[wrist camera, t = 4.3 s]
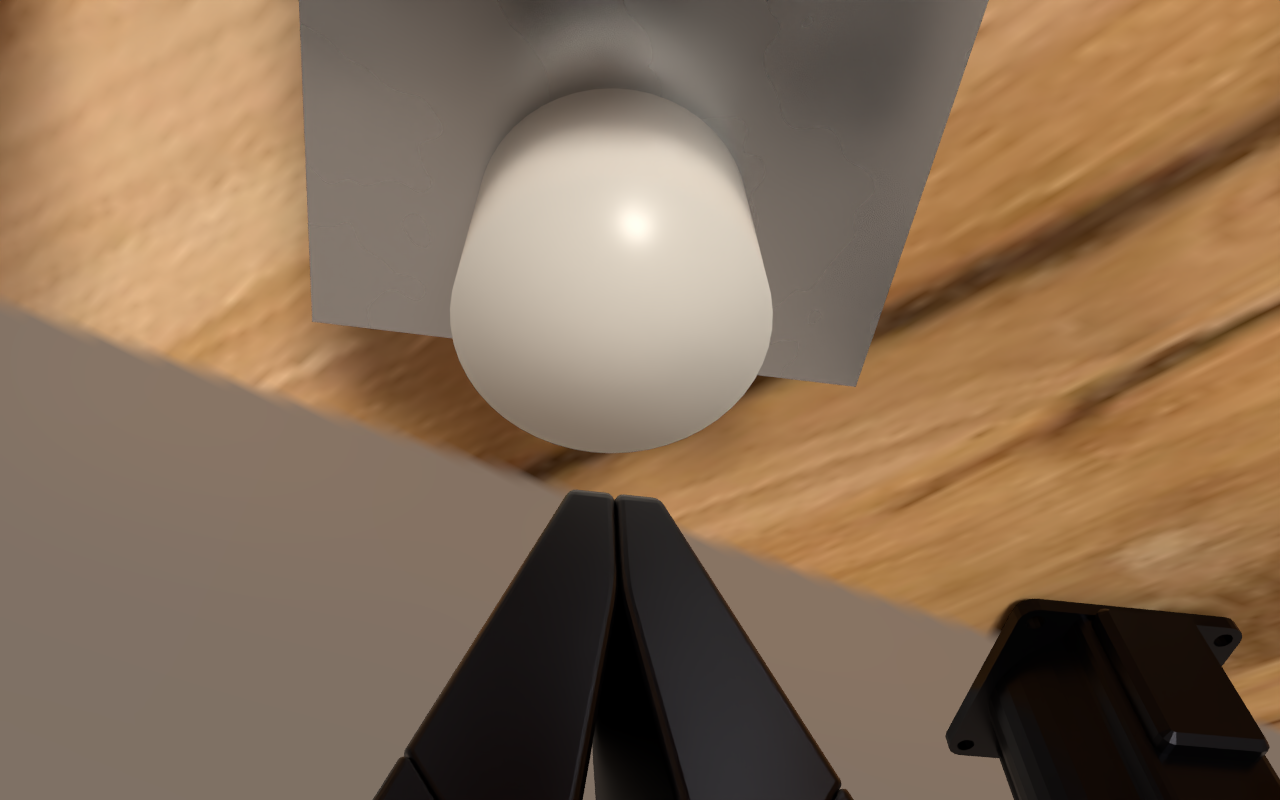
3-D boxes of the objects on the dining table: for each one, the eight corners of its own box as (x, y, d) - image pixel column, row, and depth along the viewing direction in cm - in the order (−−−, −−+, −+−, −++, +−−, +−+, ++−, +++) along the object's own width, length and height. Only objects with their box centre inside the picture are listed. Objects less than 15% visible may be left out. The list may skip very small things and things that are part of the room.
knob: (717, 349, 16) (735, 468, 14) (470, 319, 16) (443, 435, 13) (774, 110, 14) (808, 201, 11) (486, 68, 13) (458, 153, 11)
